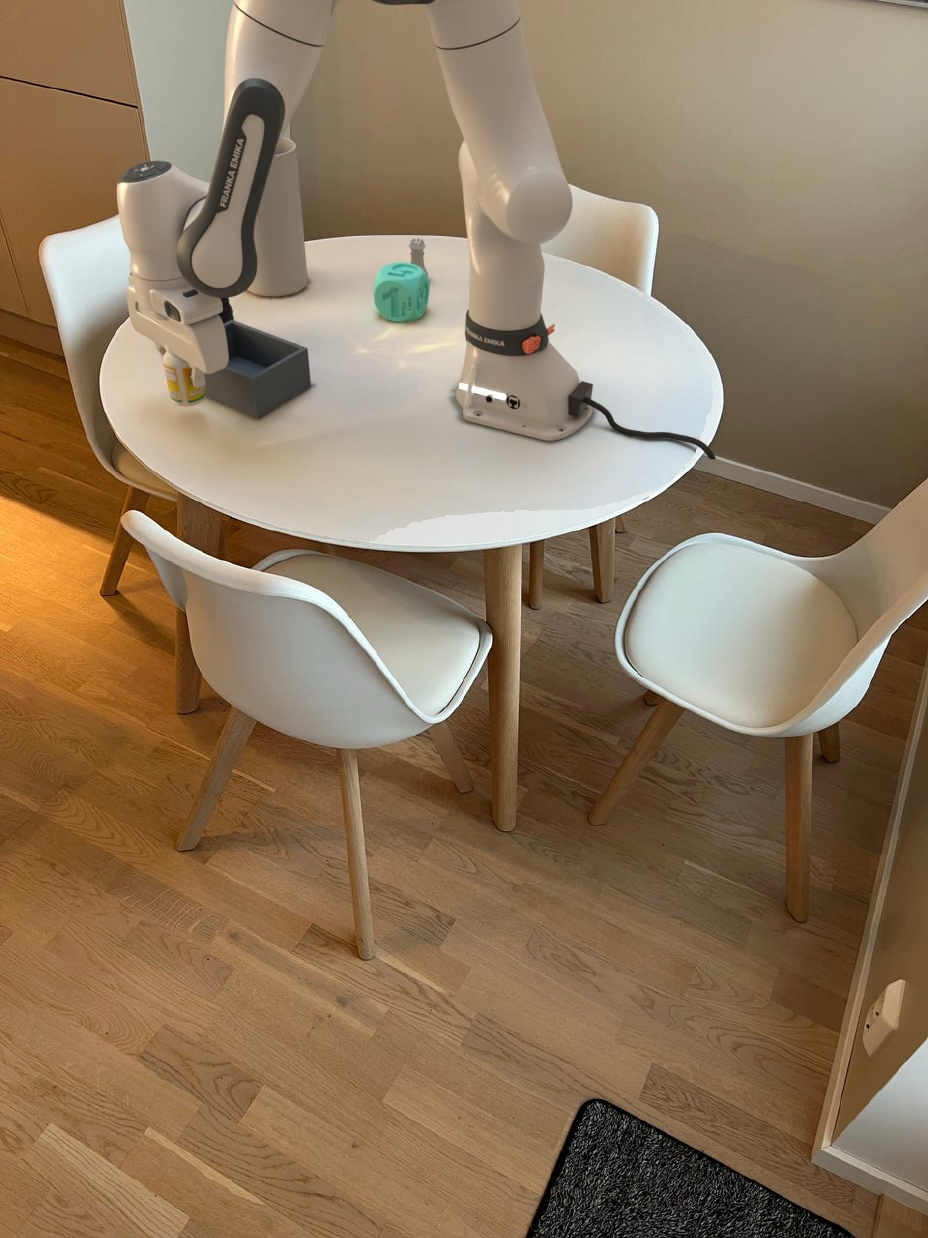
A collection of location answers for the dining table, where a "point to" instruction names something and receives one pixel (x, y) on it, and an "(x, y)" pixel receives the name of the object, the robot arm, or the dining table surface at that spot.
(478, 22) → the robot arm
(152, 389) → the dining table surface
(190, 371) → the supplement bottle
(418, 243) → the rook chess piece
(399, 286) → the decorative dice
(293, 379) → the box shelf
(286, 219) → the cylinder vase
